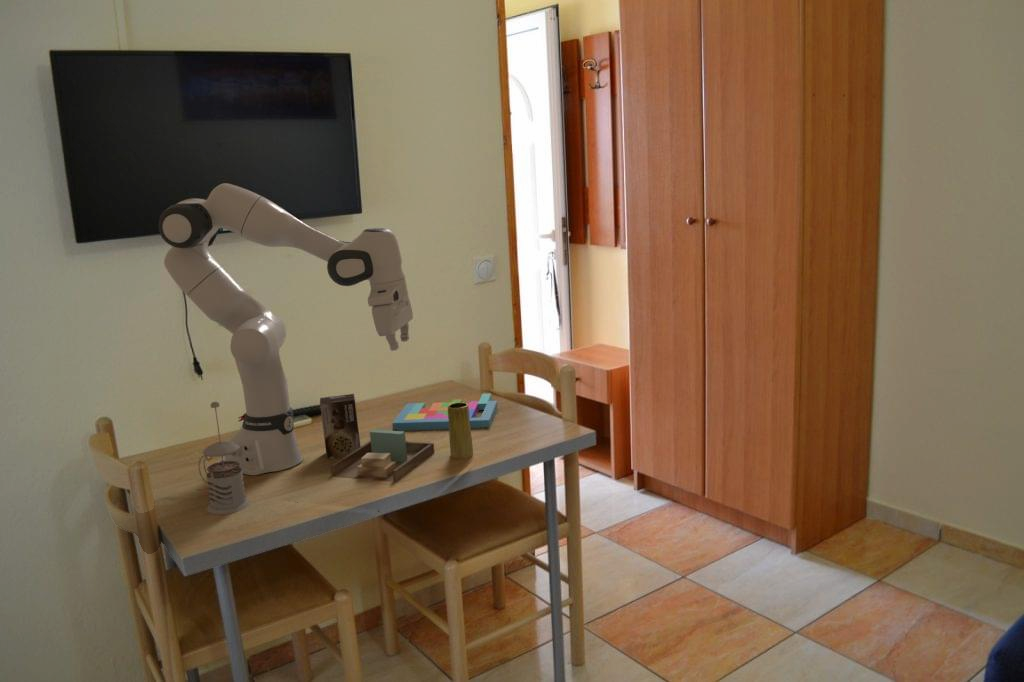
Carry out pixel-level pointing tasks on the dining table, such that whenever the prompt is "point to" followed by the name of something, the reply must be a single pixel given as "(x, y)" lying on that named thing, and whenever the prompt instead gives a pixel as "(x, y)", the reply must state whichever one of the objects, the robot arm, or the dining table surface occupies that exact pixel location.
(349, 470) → the brown wooden tray
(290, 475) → the dining table surface
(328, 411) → the coffee box
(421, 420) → the tetris game
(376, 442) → the teal rectangular block
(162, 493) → the dining table surface
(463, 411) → the vase
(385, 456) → the offcut top
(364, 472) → the offcut low
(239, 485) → the french press
